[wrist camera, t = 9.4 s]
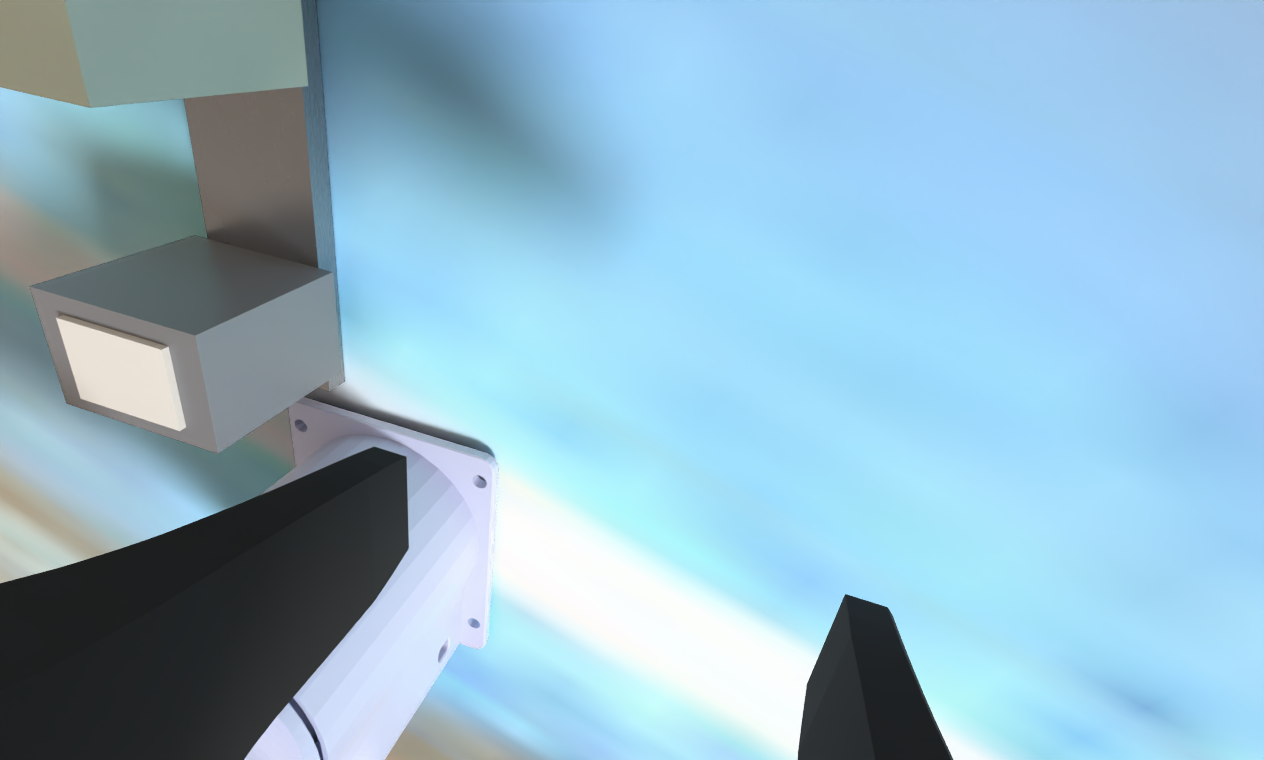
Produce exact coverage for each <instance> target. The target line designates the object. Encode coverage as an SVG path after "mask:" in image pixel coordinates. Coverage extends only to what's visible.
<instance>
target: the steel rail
mask: <svg viewBox="0 0 1264 760" xmlns="http://www.w3.org/2000/svg"><path fill="white" fill-rule="evenodd" d="M301 9H302V20H303V31H304V43H305V54H306V66H307V77H308V86H304V87H294V88H284V89H274V90H264V91H254V92H244V93H234V94H224V95H213V96H203V97H193V98H184V102H185V108H186V114H187V120H188V126H189V131H190V137H191V143H192V149H193V155H194V161H195V166H196V172H197V178H198V184H199V190H200V196H201V201H202V207H203V213H204V219H205V225H206V231H207V236H208V239H210V240H214V241H218V242H222V243H225V244H229V245H233V246H237V247H240V248H244V249H248V250H252V251H255V252H259V253H263V254H267V255H271V256H274V257H278V258H282V259H286V260H289V261H293V262H297V263H301V264H304V265H308V266H312V267H316V268H320V269H323V270H327V271H331V272H333V280H334V293H335V305H336V318H337V331H338V343H339V356H340V369H341V372H340V373H339V374H337V375H336V376H334V377H333V378H331V379H330V380H328V381H327V382H325V383H324V384H322V385H321V386H319V387H318V388H319V389H323V390H326V391H329V392H330V391H331V390H333V389H334V388H336V387H337V386H338V385H340V384H341V383H343V382H344V381H345V376H344V363H343V350H342V336H341V323H340V310H339V297H338V284H337V271H336V257H335V244H334V231H333V218H332V205H331V192H330V178H329V165H328V152H327V139H326V126H325V113H324V100H323V86H322V73H321V60H320V47H319V34H318V21H317V7H316V0H301Z"/></svg>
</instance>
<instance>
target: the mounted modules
mask: <svg viewBox="0 0 1264 760" xmlns="http://www.w3.org/2000/svg"><path fill="white" fill-rule="evenodd" d="M29 287H30V290H31V293H32V296H33V299H34V302H35V306H36V309H37V312H38V315H39V318H40V321H41V325H42V328H43V331H44V334H45V337H46V340H47V343H48V347H49V350H50V353H51V356H52V359H53V362H54V365H55V369H56V372H57V375H58V378H59V381H60V384H61V387H62V391H63V394H64V397H65V400H66V403H67V404H70V405H73V406H76V407H79V408H82V409H85V410H88V411H91V412H94V413H97V414H100V415H103V416H106V417H109V418H112V419H115V420H118V421H121V422H124V423H127V424H130V425H133V426H136V427H139V428H142V429H145V430H148V431H151V432H154V433H157V434H160V435H163V436H166V437H169V438H172V439H175V440H178V441H181V442H184V443H187V444H190V445H193V446H196V447H199V448H203V449H206V450H209V451H212V452H215V453H218V454H219V453H220V452H222V451H223V450H225V449H226V448H228V447H229V446H231V445H232V444H234V443H235V442H237V441H238V440H240V439H241V438H243V437H244V436H246V435H247V434H249V433H250V432H252V431H253V430H255V429H256V428H258V427H259V426H261V425H262V424H264V423H265V422H267V421H268V420H270V419H271V418H273V417H274V416H276V415H277V414H279V413H280V412H282V411H283V410H285V409H286V408H288V407H289V406H291V405H292V404H294V403H295V402H297V401H298V400H300V399H301V398H303V397H304V396H306V395H307V394H309V393H310V392H312V391H313V390H315V389H316V388H318V387H319V386H321V385H322V384H324V383H325V382H327V381H328V380H330V379H331V378H333V377H334V376H336V375H337V374H339V373H340V372H341V369H340V356H339V343H338V331H337V318H336V305H335V293H334V280H333V272H331V271H327V270H323V269H320V268H316V267H312V266H308V265H304V264H301V263H297V262H293V261H289V260H286V259H282V258H278V257H274V256H271V255H267V254H263V253H259V252H255V251H252V250H248V249H244V248H240V247H237V246H233V245H229V244H225V243H222V242H218V241H214V240H210V239H206V238H203V237H199V236H195V235H194V236H191V237H188V238H185V239H181V240H178V241H175V242H172V243H168V244H165V245H162V246H159V247H155V248H152V249H149V250H146V251H142V252H139V253H136V254H133V255H130V256H126V257H123V258H120V259H117V260H113V261H110V262H107V263H104V264H100V265H97V266H94V267H91V268H88V269H84V270H81V271H78V272H75V273H71V274H68V275H65V276H62V277H58V278H55V279H52V280H49V281H45V282H42V283H39V284H36V285H33V286H29Z"/></svg>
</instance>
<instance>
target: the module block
mask: <svg viewBox="0 0 1264 760" xmlns="http://www.w3.org/2000/svg"><path fill="white" fill-rule="evenodd" d="M304 86H308V77H307V66H306V54H305V43H304V31H303V20H302V9H301V0H0V87H2V88H6V89H11V90H15V91H19V92H24V93H28V94H32V95H37V96H41V97H45V98H50V99H54V100H58V101H63V102H67V103H71V104H76V105H80V106H85V107H89V108H93V107H103V106H113V105H123V104H133V103H143V102H153V101H163V100H173V99H183V98H193V97H203V96H213V95H224V94H234V93H244V92H254V91H264V90H274V89H284V88H294V87H304Z"/></svg>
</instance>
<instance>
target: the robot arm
mask: <svg viewBox="0 0 1264 760" xmlns="http://www.w3.org/2000/svg"><path fill="white" fill-rule="evenodd" d="M288 410H289V418H290V426H291V434H292V442H293V450H294V458H295V466H296V467H295V468H293V469H292V470H291V471H290V472H288V473H287V474H286V475H284V476H283V477H282V478H281V479H279V480H278V481H277V482H275V483H274V484H273V485H272V486H270V487H269V488H268V489H267V490H265V491H264V492H263V493H261V494H260V495H259V496H257V497H255V498H253V499H250V500H248V501H246V502H243V503H241V504H239V505H236V506H234V507H231V508H228V509H226V510H223V511H221V512H218V513H216V514H213V515H211V516H208V517H205V518H203V519H200V520H198V521H195V522H193V523H190V524H188V525H185V526H182V527H180V528H177V529H175V530H172V531H170V532H167V533H164V534H162V535H159V536H156V537H153V538H150V539H148V540H145V541H142V542H139V543H136V544H133V545H130V546H127V547H124V548H121V549H118V550H115V551H112V552H109V553H106V554H102V555H99V556H96V557H93V558H90V559H87V560H84V561H80V562H77V563H74V564H71V565H67V566H64V567H60V568H57V569H53V570H49V571H46V572H42V573H38V574H34V575H31V576H27V577H23V578H19V579H15V580H12V581H8V582H4V583H0V760H385V758H386V757H387V755H388V754H389V752H390V751H391V749H392V748H393V746H394V744H395V743H396V741H397V740H398V738H399V737H400V735H401V734H402V732H403V730H404V729H405V727H406V726H407V724H408V723H409V721H410V719H411V718H412V716H413V715H414V713H415V712H416V710H417V709H418V707H419V705H420V704H421V702H422V701H423V699H424V698H425V696H426V695H427V693H428V691H429V690H430V688H431V687H432V685H433V684H434V682H435V681H436V679H437V677H438V676H439V674H440V673H441V671H442V670H443V668H444V667H445V665H446V663H447V662H448V660H449V659H450V657H451V656H452V654H453V652H454V651H455V649H456V648H457V646H458V645H459V643H460V644H463V645H466V646H469V647H471V648H475V649H480V648H483V647H484V646H485V644H486V642H487V641H488V638H489V622H490V605H491V588H492V571H493V553H494V536H495V519H496V502H497V485H498V463H497V462H496V460H495V459H494V458H493V457H492V456H491V455H490V454H487V453H485V452H482V451H479V450H476V449H472V448H469V447H466V446H462V445H459V444H456V443H453V442H449V441H446V440H443V439H439V438H436V437H433V436H430V435H426V434H423V433H420V432H417V431H413V430H410V429H407V428H403V427H400V426H397V425H394V424H390V423H387V422H384V421H381V420H377V419H374V418H371V417H367V416H364V415H361V414H358V413H354V412H351V411H348V410H344V409H341V408H338V407H335V406H331V405H328V404H325V403H322V402H318V401H315V400H312V399H308V398H305V397H303V398H301V399H300V400H298V401H297V402H295V403H294V404H292V405H291V406H289V408H288ZM303 421H304V422H305V423H304V422H303ZM479 476H481V477H483V478H484V479H485V480H486V482H485V481H483V480H481V479H480V477H479ZM798 760H953V758H952V756H951V754H950V752H949V749H948V747H947V745H946V743H945V741H944V739H943V736H942V734H941V732H940V730H939V728H938V726H937V723H936V721H935V719H934V717H933V714H932V712H931V710H930V708H929V705H928V703H927V701H926V698H925V696H924V694H923V691H922V689H921V686H920V684H919V682H918V679H917V677H916V674H915V672H914V670H913V667H912V665H911V662H910V660H909V657H908V655H907V652H906V650H905V647H904V644H903V642H902V639H901V637H900V634H899V631H898V629H897V626H896V623H895V621H894V618H893V616H892V614H891V612H890V610H889V609H888V607H885V606H881V605H878V604H875V603H872V602H869V601H865V600H862V599H859V598H856V597H853V596H850V595H846V594H845V596H844V598H843V601H842V603H841V605H840V608H839V610H838V612H837V615H836V617H835V620H834V622H833V624H832V627H831V629H830V631H829V634H828V636H827V638H826V641H825V643H824V645H823V648H822V650H821V653H820V655H819V657H818V660H817V662H816V664H815V667H814V669H813V671H812V674H811V676H810V678H809V681H808V683H807V689H806V696H805V703H804V710H803V718H802V725H801V734H800V742H799V750H798Z"/></svg>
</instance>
